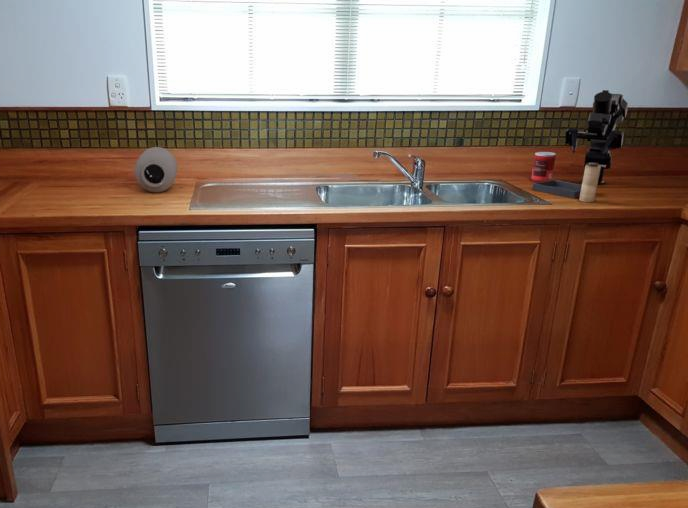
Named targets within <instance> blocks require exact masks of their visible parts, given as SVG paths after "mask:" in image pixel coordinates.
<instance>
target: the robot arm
mask: <svg viewBox="0 0 688 508" xmlns="http://www.w3.org/2000/svg"><path fill="white" fill-rule="evenodd" d="M593 97H594V98H593V103H592V112H591V113H590V114H589V116H588V118H587V124H586V128H585V131H587V132H585V131H580V128H579V127H568V128H567V129H566V131H565V144H566V145H568V146H569V147H571V148H572V154H574V153H576V150H577V147H578V143H579V140H586V142H591V144H590V146H589V149H588V150H587V151H586V153H585V157H584V164H583V167H584V168H585V166H586V165H588V164H589V163H598V164H599V166H600V167H601V169H600V174H599V179H598V184H597V186H598V185H602V184H606V181H603V178H604V172H605V170H609V169H611V166H612V158H613V157H612V155H611V152H610V151H613V150H616V149H621V148H622V146H623V142H624V134H625V133H624V131H622V130H615V129H616V127H617V126H618V125H619V124H621V123H622V122H623V121H624V119H625V118H626V117H627V114H628V106H629V105H628V101H626V100H625V99H624V94H621V93H611V92H609V90H607V89H603V90H602V91H601V92H597V93H596V94H595V95H593ZM582 182H583V180H582V181H581V183H582Z"/></svg>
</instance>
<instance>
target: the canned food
mask: <svg viewBox="0 0 688 508" xmlns="http://www.w3.org/2000/svg"><path fill="white" fill-rule="evenodd" d="M556 156H557V154H556V153H555V152H551V151H536V152H535V154H534V158H533V163H532V164H533V166H532V172H531V182H535V183H539V182H544V181H550V180H553V173H554V168H555V162H556Z"/></svg>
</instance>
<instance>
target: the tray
mask: <svg viewBox="0 0 688 508" xmlns="http://www.w3.org/2000/svg"><path fill="white" fill-rule="evenodd" d="M581 187H582V184H579V183H575V182H569V181H564V180H559V179H558V180H557V179H551V180H550V181H544V182H535V183H532V189H531V190H532V191H535V192H541V193H547V194H551V195H556V196H560V197H566V198H569V199H570V198H571V199H578V198H579V197H580V192H581Z"/></svg>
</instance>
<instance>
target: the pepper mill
mask: <svg viewBox="0 0 688 508" xmlns="http://www.w3.org/2000/svg"><path fill="white" fill-rule="evenodd" d="M600 169H601V167H600V166H599V164H598V163H588V165H586V166H585V167H584V172H583V177H582V181H583V182H582V181H581V185H582V187H581V192H580V197H578V198H579V199H578V201H579V202H583V203H594V202H595V198H596V193H597V188H598V185H599V184H598V179H599V174H600ZM597 184H598V185H597Z"/></svg>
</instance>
